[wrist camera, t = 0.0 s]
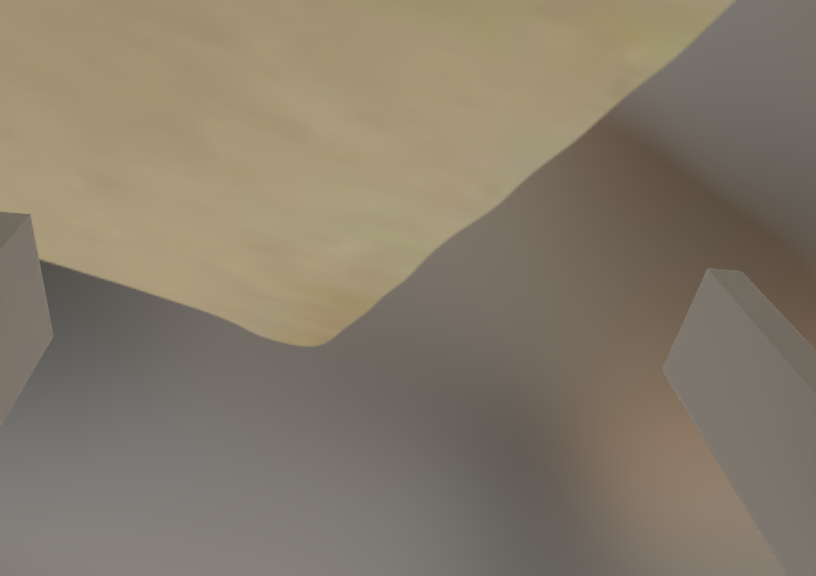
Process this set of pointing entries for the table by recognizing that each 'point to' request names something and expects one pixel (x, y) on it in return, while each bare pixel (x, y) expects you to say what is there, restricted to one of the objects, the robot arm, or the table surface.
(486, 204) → the table surface
